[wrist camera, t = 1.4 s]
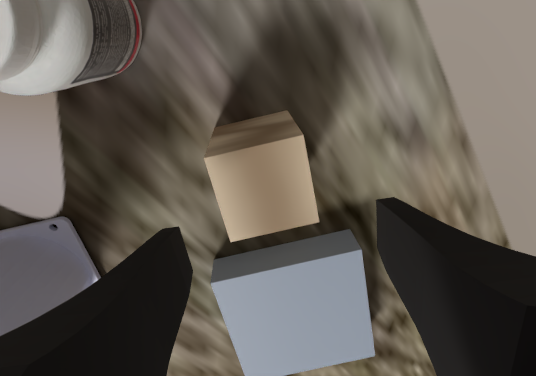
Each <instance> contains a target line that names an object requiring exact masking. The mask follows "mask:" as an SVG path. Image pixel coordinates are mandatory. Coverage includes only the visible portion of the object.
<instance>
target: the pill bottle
mask: <svg viewBox="0 0 536 376" xmlns="http://www.w3.org/2000/svg"><path fill="white" fill-rule="evenodd" d="M141 39H142V26H141V19H140V15H139V12H138V9H137V7H136V5H135V3H134V1H133V0H0V92H3V93H7V94H12V95H20V96H31V95H43V94H47V93H51V92H56V91H59V90H64V89H68V88H71V87H75V86H78V85H81V84H86V83H89V82H93V81H98V80H102V79H106V78H109V77H112V76H115V75H117V74H119V73H121V72H123V71H124V70H125V69H127V68H128V67H129V66H130V65H131V64H132V62H133V61H134V60H135V58H136V56H137V54H138V52H139V49H140V45H141Z"/></svg>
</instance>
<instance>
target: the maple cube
mask: <svg viewBox="0 0 536 376" xmlns="http://www.w3.org/2000/svg"><path fill="white" fill-rule="evenodd" d="M204 160H205V163H206V166H207V170H208V173H209V176H210V179H211V182H212V185H213V189H214V192H215V195H216V198H217V201H218V204H219V207H220V211H221V214H222V217H223V220H224V223H225V226H226V229H227V233H228V236H229V239H230V242H234V241H239V240H243V239H247V238H252V237H256V236H261V235H265V234H269V233H274V232H278V231H283V230H287V229H291V228H296V227H300V226H305V225H309V224H313V223H318V222H319V217H318V212H317V206H316V201H315V195H314V190H313V184H312V179H311V173H310V168H309V162H308V157H307V151H306V146H305V140H304V135H303V133H302V132H301V130H300V129H299V127H298V126H297V124H296V123H295V121H294V120H293V118H292V117H291V115H290V114H289V112H288V110H286V111H282V112H277V113H273V114H269V115H265V116H261V117H256V118H252V119H248V120H244V121H239V122H235V123H231V124H227V125H222V126H218V127H215V128H214V131H213V134H212V137H211V140H210V142H209V145H208V148H207V151H206V154H205V156H204Z"/></svg>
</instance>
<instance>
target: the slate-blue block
mask: <svg viewBox="0 0 536 376" xmlns="http://www.w3.org/2000/svg"><path fill="white" fill-rule="evenodd" d="M211 286H212V288H213V291H214V294H215V297H216V299H217V302H218V305H219V307H220V310H221V313H222V315H223V318H224V321H225V323H226V326H227V329H228V331H229V334H230V337H231V340H232V342H233V345H234V348H235V350H236V353H237V356H238V358H239V361H240V364H241V366H242V369H243V372H244V375H245V376H284V375H289V374H294V373H298V372H303V371H308V370H312V369H317V368H322V367H326V366H331V365H335V364H340V363H345V362H349V361H354V360H359V359H363V358H368V357H373V356H375V351H374V343H373V335H372V327H371V320H370V312H369V304H368V296H367V288H366V280H365V272H364V264H363V256H362V249H361V247H360V246H359V244H358V242H357V240H356V239H355V237H354V235H353V233H352V232H351V230H350V229H347V230H343V231H339V232H334V233H330V234H325V235H321V236H316V237H312V238H307V239H303V240H299V241H294V242H290V243H285V244H281V245H276V246H272V247H268V248H263V249H259V250H254V251H250V252H245V253H241V254H237V255H232V256H228V257H223V258H219V259H214V262H213V270H212V277H211Z"/></svg>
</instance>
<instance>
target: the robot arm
mask: <svg viewBox="0 0 536 376" xmlns="http://www.w3.org/2000/svg"><path fill="white" fill-rule="evenodd" d="M376 207H377V248H378V251H379V253H380V256H381V259H382V262H383V264H384V267H385V269H386V272H387V274H388V275H389V277H390V279H391V281H392V283H393V285H394V287H395V289H396V290H397V292H398V294H399V296H400V298H401V300H402V301H403V303H404V305H405V307H406V309H407V311H408V312H409V314H410V316H411V318H412V320H413V322H414V323H415V325H416V327H417V330H418V332H419V334H420V336H421V338H422V340H423V343H424V345H425V348H426V350H427V352H428V355H429V357H430V360H431V362H432V364H433V367H434V369H435V372H436V375H437V376H536V257H535V256H532V255H528V254H525V253H521V252H518V251H514V250H511V249H508V248H505V247H502V246H499V245H496V244H493V243H491V242H488V241H485V240H482V239H480V238H477V237H474V236H472V235H469V234H467V233H465V232H463V231H460V230H458V229H456V228H454V227H451V226H449V225H447V224H445V223H443V222H441V221H439V220H437V219H435V218H433V217H431V216H429V215H427V214H425V213H423V212H421V211H420V210H418V209H416V208H414V207H412V206H410V205H409V204H407V203H405V202H403V201H401V200H399V199H397V198H394V197H392V198H385V199H378V200H376ZM52 224H55V225H56V226H57V227H58V228H55V227H54V226H53V225H52ZM192 274H193V269H192V266H191V263H190V260H189V257H188V253H187V250H186V247H185V244H184V241H183V238H182V235H181V232H180V228H179V227H172V228H165V229H162V230H160V231H159V232H158V233H156V234H155V235H154V236H152V237H151V238H150V239H149V240H148V241H146V242H145V243H144V244H143V245H142V246H140V247H139V248H138V249H137V250H136V251H134V252H133V253H132V254H131V255H130V256H128V257H127V258H126V259H125V260H124V261H122V262H121V263H120V264H118V265H117V266H116V267H115V268H113V269H112V270H111V271H109V272H108V273H107V274H105V275H104V276H103V277H102V278H101V277H100V275H99V273H98V271H97V269H96V267H95V265H94V264H93V262H92V260H91V258H90V256H89V254H88V252H87V251H86V249H85V247H84V245H83V243H82V241H81V239H80V238H79V236H78V234H77V232H76V230H75V228H74V226H73V225H72V223H71V221H70V220H69V219H68V218H66V217H56V218H52V219H48V220H43V221H39V222H35V223H30V224H26V225H22V226H18V227H13V228H9V229H5V230H0V376H166V375H167V370H168V365H169V361H170V357H171V353H172V349H173V346H174V343H175V340H176V336H177V333H178V330H179V327H180V324H181V320H182V317H183V314H184V311H185V307H186V304H187V301H188V297H189V293H190V287H191V281H192Z"/></svg>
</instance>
